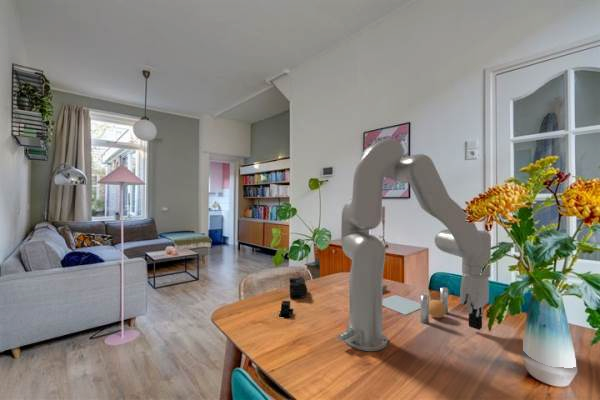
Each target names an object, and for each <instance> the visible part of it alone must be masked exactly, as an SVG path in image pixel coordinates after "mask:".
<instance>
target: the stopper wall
mask: <svg viewBox="0 0 600 400" xmlns="http://www.w3.org/2000/svg"><path fill="white" fill-rule="evenodd" d="M387 287H388V286H387V284H385V283H382V293H384V292H386V291H387V290H388V289H387Z"/></svg>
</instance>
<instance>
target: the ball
mask: <svg viewBox="0 0 600 400" xmlns="http://www.w3.org/2000/svg"><path fill="white" fill-rule="evenodd" d="M445 312H446V308H445V306H444V304H443V303H442V302H440V300H439V299H432V300H429V316H431V317H433V318H434V319H440V318H443V317H444V316H445V315H446V314H445Z"/></svg>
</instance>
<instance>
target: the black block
mask: <svg viewBox="0 0 600 400" xmlns="http://www.w3.org/2000/svg"><path fill="white" fill-rule="evenodd" d="M280 309H281V311H280V310H279V312H280V314H279V313H278V315H279V317H284V318H283V319H292V317H293V313H294V308H291V300H282V301H281V305H280Z"/></svg>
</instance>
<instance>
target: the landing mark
mask: <svg viewBox="0 0 600 400" xmlns="http://www.w3.org/2000/svg"><path fill="white" fill-rule="evenodd" d="M382 307H384V308H387V309H389V310H391V311H394V312H396V313H399V314H402V315H403V316H407V315H409V314H411V313H413V312H416V311H418V310H421V302H417V301H414V300H411V299H408V298H405V297H402V296H399V295H397V294H394V295H391V296H388V297H386V298H382Z"/></svg>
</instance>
